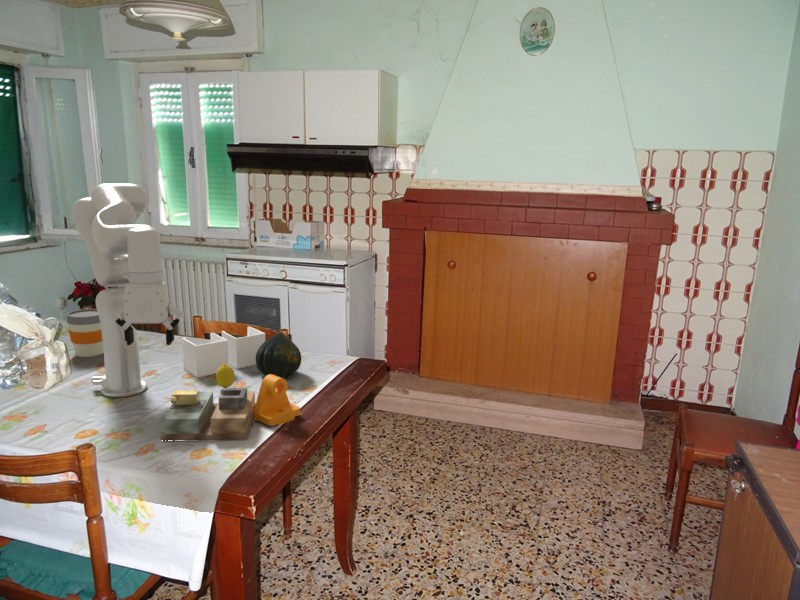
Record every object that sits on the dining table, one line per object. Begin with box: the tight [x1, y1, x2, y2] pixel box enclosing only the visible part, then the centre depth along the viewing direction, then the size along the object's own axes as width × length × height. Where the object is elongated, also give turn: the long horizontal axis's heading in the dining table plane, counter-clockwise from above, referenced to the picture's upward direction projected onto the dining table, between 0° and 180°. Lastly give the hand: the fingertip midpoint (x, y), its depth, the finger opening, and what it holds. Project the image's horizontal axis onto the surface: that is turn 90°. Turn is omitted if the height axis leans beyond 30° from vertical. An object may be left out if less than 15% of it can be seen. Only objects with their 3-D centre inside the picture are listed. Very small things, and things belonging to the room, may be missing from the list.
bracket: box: [254, 374, 301, 427], centre depth 154 cm, size 11×7×12 cm, turn 141°
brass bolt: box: [170, 389, 200, 405], centre depth 147 cm, size 6×5×3 cm
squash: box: [255, 331, 302, 379], centre depth 187 cm, size 14×15×15 cm
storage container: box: [181, 326, 266, 378], centre depth 194 cm, size 25×11×11 cm, turn 133°
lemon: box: [215, 364, 236, 389], centre depth 174 cm, size 6×6×8 cm
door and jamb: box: [159, 387, 256, 442], centre depth 150 cm, size 21×20×9 cm
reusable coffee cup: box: [66, 308, 104, 358], centre depth 201 cm, size 12×12×15 cm
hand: (150, 343), depth 144 cm, fingers open, 9 cm apart
